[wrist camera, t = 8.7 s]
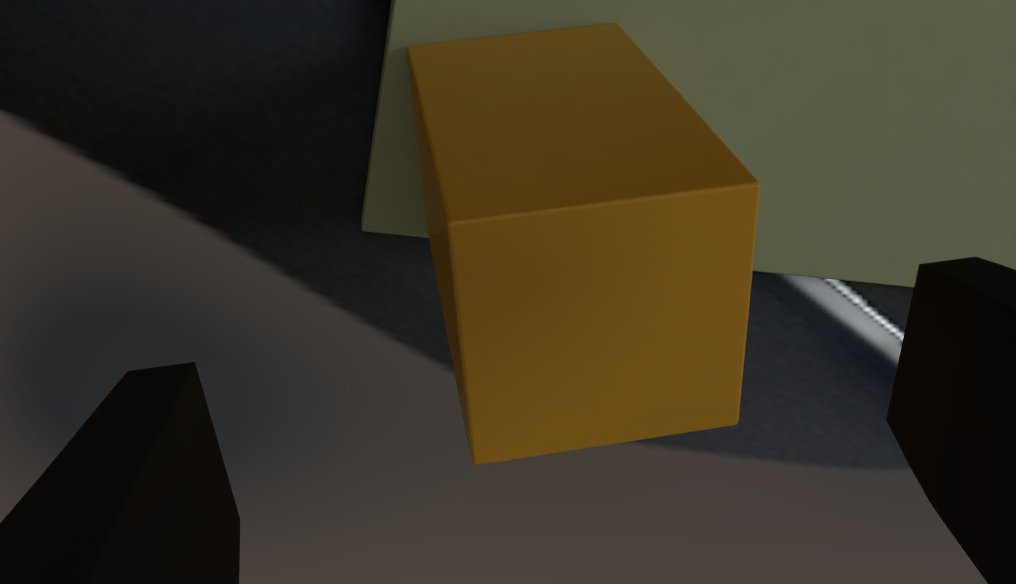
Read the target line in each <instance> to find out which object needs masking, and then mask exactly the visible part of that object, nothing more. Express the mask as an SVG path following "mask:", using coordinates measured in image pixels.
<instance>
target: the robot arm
mask: <svg viewBox="0 0 1016 584" xmlns="http://www.w3.org/2000/svg"><path fill="white" fill-rule="evenodd" d="M886 420H887V422H888V424H889V426H890V428H891V430H892V432H893V434H894V436H895V438H896V440H897V442H898V444H899V446H900V448H901V450H902V452H903V454H904V456H905V458H906V460H907V462H908V464H909V465H910V467H911V469H912V471H913V473H914V474H915V476H916V478H917V480H918V482H919V483H920V485H921V487H922V489H923V490H924V492H925V494H926V496H927V497H928V499H929V501H930V503H931V504H932V506H933V507H934V509H935V510H936V511H937V513H938V514H939V516H940V517H941V519H942V520H943V522H944V523H945V524H946V526H947V527H948V529H949V530H950V531H951V533H952V534H953V535H954V537H955V538H956V540H957V541H958V543H959V544H960V545H961V547H962V548H963V550H964V551H965V552H966V554H967V555H968V556H969V558H970V559H971V561H972V562H973V563H974V565H975V566H976V568H977V569H978V570H979V572H980V573H981V574H982V576H983V577H984V578H985V580H986V581H987V583H988V584H1016V270H1015V269H1012V268H1009V267H1006V266H1003V265H1001V264H998V263H995V262H991V261H988V260H985V259H982V258H979V257H968V258H961V259H953V260H946V261H939V262H931V263H924V264H919V267H918V272H917V277H916V281H915V286H914V291H913V296H912V300H911V305H910V310H909V315H908V319H907V324H906V329H905V334H904V338H903V343H902V348H901V353H900V357H899V362H898V367H897V372H896V376H895V381H894V386H893V391H892V396H891V400H890V405H889V410H888V415H887V419H886ZM239 550H240V517H239V514H238V510H237V507H236V504H235V500H234V496H233V493H232V490H231V486H230V483H229V479H228V475H227V472H226V469H225V465H224V462H223V458H222V455H221V451H220V448H219V444H218V441H217V437H216V434H215V431H214V427H213V423H212V420H211V417H210V413H209V410H208V406H207V403H206V399H205V396H204V392H203V389H202V386H201V382H200V379H199V375H198V372H197V368H196V364H195V362H192V363H185V364H177V365H170V366H163V367H155V368H148V369H140V370H133V371H128V372H127V373H126V374H125V375H124V377H123V378H122V379H121V380H120V381H119V382H118V383H117V385H116V386H115V387H114V388H113V390H112V391H111V392H110V393H109V394H108V396H107V397H106V398H105V399H104V400H103V401H102V403H101V404H100V405H99V406H98V407H97V409H96V410H95V411H94V412H93V413H92V415H91V416H90V417H89V418H88V420H87V421H86V422H85V423H84V424H83V426H82V427H81V428H80V429H79V430H78V432H77V433H76V434H75V436H74V437H73V438H72V439H71V440H70V441H69V443H68V444H67V445H66V446H65V447H64V449H63V450H62V451H61V452H60V454H59V455H58V456H57V457H56V458H55V460H54V461H53V462H52V463H51V464H50V466H49V467H48V468H47V469H46V470H45V472H44V473H43V474H42V475H41V476H40V478H39V479H38V480H37V481H36V483H34V485H33V486H32V487H31V488H30V489H29V490H28V492H27V493H26V494H25V495H24V496H23V498H22V499H21V500H20V501H19V502H18V503H17V504H16V506H15V507H14V508H13V509H12V510H11V511H10V513H9V514H8V515H7V516H6V517H5V518H4V520H3V521H2V522H1V523H0V584H239V555H240V554H239V553H240V551H239Z"/></svg>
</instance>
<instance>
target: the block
mask: <svg viewBox="0 0 1016 584" xmlns="http://www.w3.org/2000/svg"><path fill="white" fill-rule="evenodd" d="M406 51H407V60H408V68H409V77H410V85H411V93H412V102H413V110H414V119H415V127H416V136H417V144H418V152H419V161H420V169H421V178H422V186H423V195H424V203H425V212H426V220H427V228H428V236H429V241H430V247H431V252H432V257H433V262H434V268H435V273H436V278H437V283H438V288H439V294H440V299H441V304H442V309H443V315H444V320H445V325H446V330H447V336H448V341H449V346H450V351H451V356H452V362H453V367H454V372H455V377H456V382H457V388H458V393H459V398H460V404H461V409H462V414H463V419H464V425H465V429H466V435H467V440H468V445H469V450H470V456H471V461H472V463H473V464H474V465H482V464H489V463H495V462H501V461H507V460H514V459H521V458H527V457H533V456H540V455H546V454H552V453H559V452H565V451H572V450H578V449H585V448H591V447H597V446H604V445H610V444H617V443H623V442H629V441H636V440H642V439H649V438H655V437H661V436H668V435H674V434H681V433H687V432H693V431H700V430H706V429H713V428H719V427H725V426H732V425H736V424H737V423H738V419H739V408H740V398H741V387H742V377H743V366H744V356H745V345H746V335H747V324H748V313H749V303H750V292H751V282H752V271H753V261H754V250H755V239H756V229H757V218H758V208H759V197H760V182H759V181H758V180H757V179H756V178H755V176H754V175H753V174H752V173H751V172H750V171H749V170H748V169H747V167H746V166H745V165H744V164H743V163H742V162H741V161H740V160H739V159H738V157H737V156H736V155H735V154H734V153H733V152H732V151H731V150H730V148H729V147H728V146H727V145H726V144H725V143H724V142H723V141H722V139H721V138H720V137H719V136H718V135H717V134H716V133H715V132H714V131H713V129H712V128H711V127H710V126H709V125H708V124H707V123H706V122H705V120H704V119H703V118H702V117H701V116H700V115H699V114H698V113H697V111H696V110H695V109H694V108H693V107H692V106H691V105H690V104H689V102H688V101H687V100H686V99H685V98H684V97H683V96H682V95H681V94H680V92H679V91H678V90H677V89H676V88H675V87H674V86H673V85H672V83H671V82H670V81H669V80H668V79H667V78H666V77H665V76H664V74H663V73H662V72H661V71H660V70H659V69H658V68H657V67H656V66H655V64H654V63H653V62H652V61H651V60H650V59H649V58H648V57H647V55H646V54H645V53H644V52H643V51H642V50H641V49H640V48H639V46H638V45H637V44H636V43H635V42H634V41H633V40H632V39H631V37H630V36H629V35H628V34H627V33H626V32H625V31H624V30H623V29H622V27H621V26H620V25H619V24H607V25H598V26H589V27H579V28H570V29H561V30H552V31H543V32H533V33H524V34H515V35H506V36H497V37H487V38H478V39H469V40H460V41H451V42H441V43H432V44H423V45H414V46H409V47H407V50H406Z"/></svg>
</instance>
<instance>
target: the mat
mask: <svg viewBox="0 0 1016 584" xmlns="http://www.w3.org/2000/svg"><path fill="white" fill-rule="evenodd" d="M607 24H619V25H620V26H621V27H622V29H623V30H624V31H625V32H626V33H627V34H628V35H629V36H630V37H631V39H632V40H633V41H634V42H635V43H636V44H637V45H638V46H639V48H640V49H641V50H642V51H643V52H644V53H645V54H646V55H647V57H648V58H649V59H650V60H651V61H652V62H653V63H654V64H655V66H656V67H657V68H658V69H659V70H660V71H661V72H662V73H663V74H664V76H665V77H666V78H667V79H668V80H669V81H670V82H671V83H672V85H673V86H674V87H675V88H676V89H677V90H678V91H679V92H680V94H681V95H682V96H683V97H684V98H685V99H686V100H687V101H688V102H689V104H690V105H691V106H692V107H693V108H694V109H695V110H696V111H697V113H698V114H699V115H700V116H701V117H702V118H703V119H704V120H705V122H706V123H707V124H708V125H709V126H710V127H711V128H712V129H713V131H714V132H715V133H716V134H717V135H718V136H719V137H720V138H721V139H722V141H723V142H724V143H725V144H726V145H727V146H728V147H729V148H730V150H731V151H732V152H733V153H734V154H735V155H736V156H737V157H738V159H739V160H740V161H741V162H742V163H743V164H744V165H745V166H746V167H747V169H748V170H749V171H750V172H751V173H752V174H753V175H754V176H755V178H756V179H757V180H758V181H759V182H760V197H759V208H758V218H757V229H756V239H755V250H754V261H753V271H759V272H769V273H779V274H789V275H798V276H808V277H818V278H828V279H838V280H848V281H857V282H867V283H877V284H887V285H897V286H906V287H914V286H915V281H916V277H917V272H918V267H919V264H924V263H931V262H939V261H946V260H953V259H961V258H968V257H979V258H982V259H985V260H988V261H991V262H995V263H998V264H1001V265H1003V266H1006V267H1009V268H1012V269H1015V270H1016V0H392V1H391V8H390V15H389V22H388V30H387V37H386V44H385V51H384V58H383V66H382V73H381V80H380V87H379V95H378V102H377V109H376V116H375V123H374V131H373V138H372V145H371V152H370V160H369V167H368V174H367V181H366V188H365V196H364V203H363V210H362V217H361V224H362V230H363V231H366V232H376V233H386V234H396V235H406V236H416V237H425V238H429V236H428V228H427V220H426V212H425V203H424V195H423V186H422V178H421V169H420V161H419V152H418V144H417V136H416V127H415V119H414V110H413V102H412V93H411V85H410V77H409V68H408V60H407V51H406V50H407V47H409V46H414V45H423V44H432V43H441V42H451V41H460V40H469V39H478V38H487V37H497V36H506V35H515V34H524V33H533V32H543V31H552V30H561V29H570V28H579V27H589V26H598V25H607Z"/></svg>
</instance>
